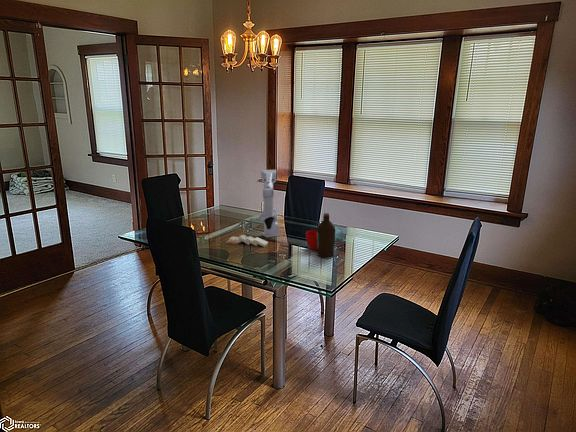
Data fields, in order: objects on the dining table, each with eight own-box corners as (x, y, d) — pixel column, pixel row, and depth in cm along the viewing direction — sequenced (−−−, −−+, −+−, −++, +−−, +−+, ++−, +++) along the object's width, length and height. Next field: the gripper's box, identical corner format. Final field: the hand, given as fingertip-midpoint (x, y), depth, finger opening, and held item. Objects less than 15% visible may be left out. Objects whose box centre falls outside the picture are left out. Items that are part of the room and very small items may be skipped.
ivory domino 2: (253, 240, 258) (243, 234, 260) (249, 242, 254) (239, 236, 256) (252, 242, 259) (242, 236, 261) (248, 244, 254) (238, 238, 257)
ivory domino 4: (268, 242, 255) (257, 237, 256) (265, 244, 250) (253, 239, 252) (267, 244, 255) (256, 239, 257) (264, 246, 251) (252, 241, 253)
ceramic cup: (321, 242, 258) (321, 227, 256) (329, 251, 242) (330, 235, 240) (301, 244, 256) (301, 229, 253) (308, 253, 240) (309, 237, 237)
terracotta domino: (240, 240, 260) (229, 239, 263) (237, 242, 256) (226, 241, 258) (241, 242, 261) (229, 241, 263) (237, 245, 256) (226, 243, 259)
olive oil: (335, 253, 239) (337, 212, 233) (333, 259, 230) (334, 216, 223) (318, 251, 242) (319, 210, 236) (314, 257, 232) (315, 215, 226)
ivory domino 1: (243, 237, 260) (232, 236, 263) (240, 240, 255) (229, 238, 258) (243, 240, 260) (232, 238, 263) (240, 242, 256) (229, 241, 259)
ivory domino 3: (260, 241, 256) (250, 235, 258) (257, 243, 252) (246, 238, 254) (259, 243, 257) (249, 238, 259) (256, 246, 252) (245, 240, 255)
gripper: (269, 204, 257) (269, 225, 260) (256, 209, 244) (257, 230, 248) (278, 205, 253) (278, 226, 257) (266, 210, 241) (267, 232, 245)
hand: (268, 228), depth 252 cm, fingers closed
